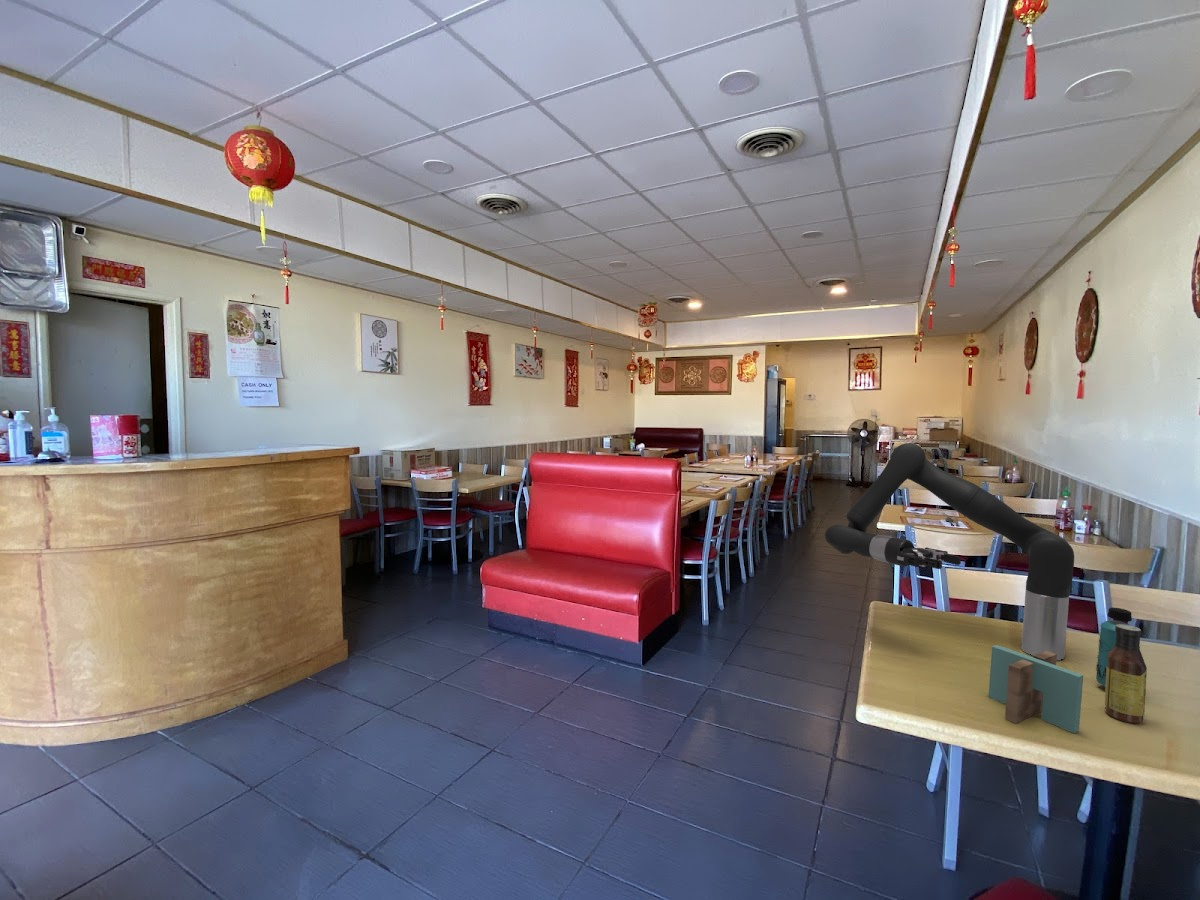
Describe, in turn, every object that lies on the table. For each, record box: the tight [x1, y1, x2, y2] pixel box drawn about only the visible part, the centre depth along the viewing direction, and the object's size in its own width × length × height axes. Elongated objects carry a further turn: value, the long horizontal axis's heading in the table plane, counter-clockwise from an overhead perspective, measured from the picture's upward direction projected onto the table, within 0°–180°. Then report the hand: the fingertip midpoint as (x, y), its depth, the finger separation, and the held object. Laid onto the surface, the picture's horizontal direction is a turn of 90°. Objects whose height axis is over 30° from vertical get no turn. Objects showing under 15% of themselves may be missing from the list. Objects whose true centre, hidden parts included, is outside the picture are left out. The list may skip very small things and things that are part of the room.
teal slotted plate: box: [987, 644, 1084, 734], centre depth 118 cm, size 16×2×12 cm, turn 28°
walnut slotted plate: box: [1004, 651, 1057, 724], centre depth 118 cm, size 16×2×12 cm, turn 118°
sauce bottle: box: [1104, 624, 1148, 724], centre depth 117 cm, size 7×6×20 cm
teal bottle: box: [1095, 607, 1133, 687], centre depth 128 cm, size 6×7×20 cm
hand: (950, 563), depth 140 cm, fingers open, 8 cm apart
